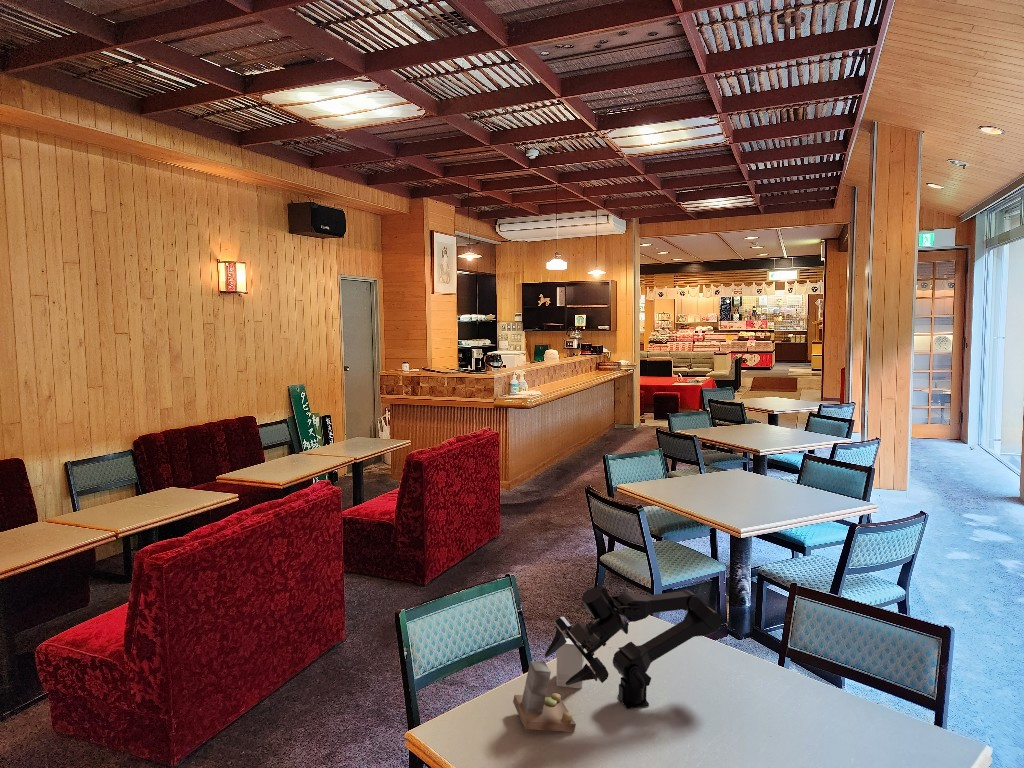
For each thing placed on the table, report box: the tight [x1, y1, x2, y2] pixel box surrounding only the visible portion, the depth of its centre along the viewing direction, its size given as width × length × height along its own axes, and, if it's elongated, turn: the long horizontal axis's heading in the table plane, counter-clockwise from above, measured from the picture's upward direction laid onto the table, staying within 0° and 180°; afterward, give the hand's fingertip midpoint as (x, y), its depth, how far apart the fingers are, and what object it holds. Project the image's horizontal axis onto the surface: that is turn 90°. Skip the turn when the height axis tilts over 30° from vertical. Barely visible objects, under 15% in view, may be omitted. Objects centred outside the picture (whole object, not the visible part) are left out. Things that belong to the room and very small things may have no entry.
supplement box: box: [555, 638, 585, 689], centre depth 188 cm, size 7×7×13 cm
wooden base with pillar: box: [512, 660, 577, 733], centre depth 168 cm, size 13×12×13 cm
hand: (555, 670), depth 170 cm, fingers open, 9 cm apart
